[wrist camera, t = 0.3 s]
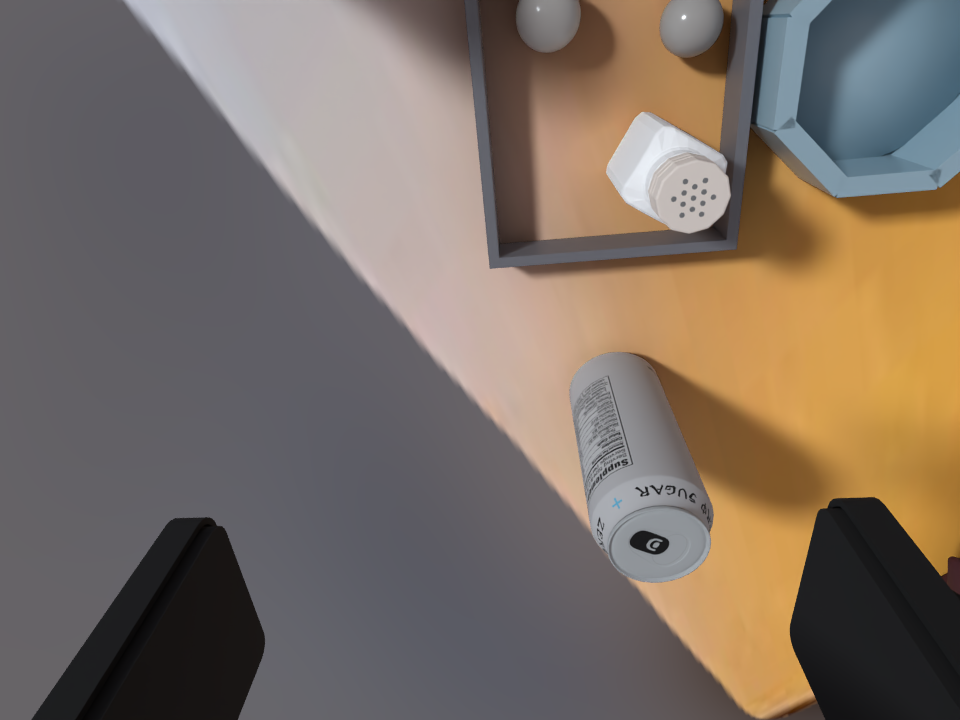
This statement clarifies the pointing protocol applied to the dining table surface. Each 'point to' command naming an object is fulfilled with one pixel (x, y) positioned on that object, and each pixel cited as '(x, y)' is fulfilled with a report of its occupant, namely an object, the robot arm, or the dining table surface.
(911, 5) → the bowl
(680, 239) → the parts tray
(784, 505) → the dining table surface
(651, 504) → the energy drink can
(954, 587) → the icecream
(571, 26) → the pebble
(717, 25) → the pebble
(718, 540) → the dining table surface
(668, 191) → the pepper shaker
